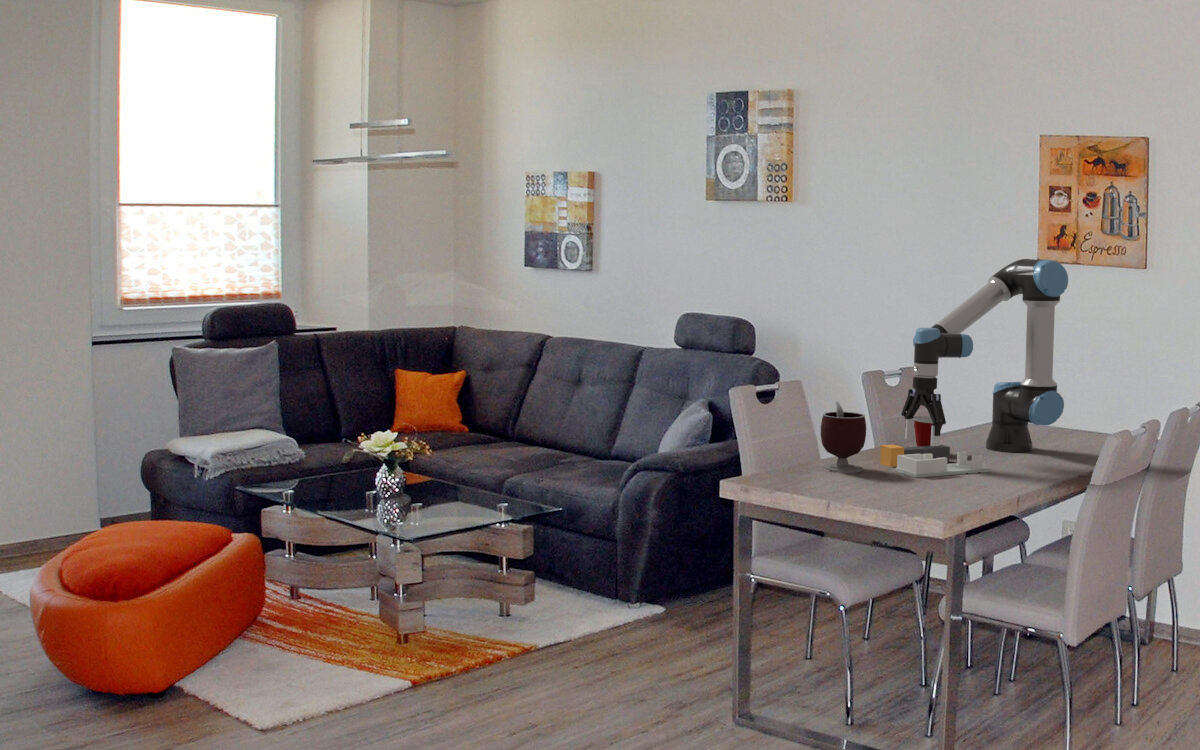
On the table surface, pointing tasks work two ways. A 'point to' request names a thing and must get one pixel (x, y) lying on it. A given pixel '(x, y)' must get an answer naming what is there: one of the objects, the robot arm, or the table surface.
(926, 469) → the board
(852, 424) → the mate gourd
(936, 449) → the bar
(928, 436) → the plastic cup
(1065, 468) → the table surface
